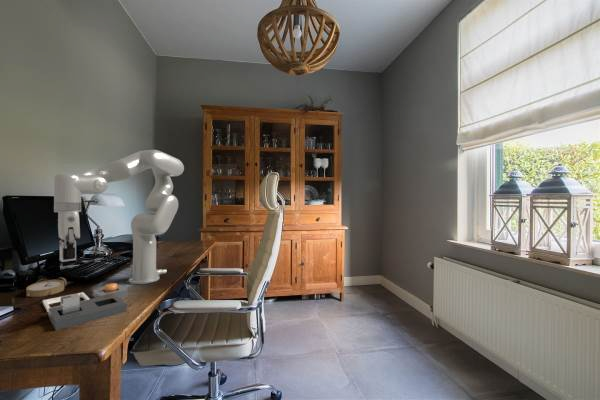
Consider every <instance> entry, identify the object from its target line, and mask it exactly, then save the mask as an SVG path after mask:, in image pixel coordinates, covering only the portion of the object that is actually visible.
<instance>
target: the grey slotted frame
mask: <svg viewBox="0 0 600 400" xmlns="http://www.w3.org/2000/svg"><path fill="white" fill-rule="evenodd" d="M127 309H128V304H127V303H126V302H125V301H124V300H122V298H118V297H117V296H116V295H115V294H112V295H107V296H103V297H98V298H94V297H93V298H89V300H85V301H84V300H80V311H78V312H74V313H70V314H66V315H62V316H61V305H57V306H53V308H52V307H50V308H49V312H48V319H49V320H50V322H51V324H52V326H53V328H54V330H55V331H59V330H64V329H67V328H71V327H74V326H78V325H82V324H85V323H86V324H87V323H89V322H93V321H96V320H101V319H105V318H108V317H111V316H115V315H118V314H122V313H126V312H127V311H128V310H127Z"/></svg>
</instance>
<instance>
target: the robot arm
mask: <svg viewBox="0 0 600 400" xmlns="http://www.w3.org/2000/svg"><path fill="white" fill-rule="evenodd" d="M149 169H151V170H152V174H153V176H154V182H155V183H154V186H153V188H152V190H151V191H150V193H149V195H148V197H147V198H146V201H145V203H144V208H145V210H146V211H148V213H147V212H143V213H138V214H136V215H135V216H133V218H132V219H131V222H130V229H131V234H132V277H130V278H129V279H128V283H129V284H131V285H146V284H150V283H155V282H158V281H159V280H160V278H161V277H160V276H161V275H162V274H167V272H168V271H167V268H165V269H162V268H161V269H158V268H157V239H156V236H157V235H164V234H165V233H166V232H167V231H168V229H169V228H170V227H171V224H172V222H173V220H174V218H175V215H177V212H178V209H179V200H178V198H177V197H176V196H175V195H174V194H172V193H173V190H174V184H173V180H172V179H171V177H178V176H181V175H182V174H183V172H184V171H185V166H184V164H183V162H182V161H181V160H180V159H179V158H176V157H174V156H172V155H170V154H168V153H165V152H163V151H161V150H158V149H149V150H148V149H145V150H140V151H139V150H138V151H136V152H134V153H131V154H130V155H127V156H124V157H123V158H120V159H118V160H114V161H112V162H108V163H106V164H102V165H101V166H97V167H94V168H91V169H89V170H86V171H84V172H81V173H79V174H76V173H56V174H55V175H54V178H53V212H54V213H57V217H58V218H57V222H58V223H57V230H58V232H57V233H58V238H59V239H60V241H64V249H63V259H64V260H68V259H74V258H75V241H76V240H75V239H77V240H79V239H80V238H81V228H80V227H81V226H80V225H81V224H80V215H79V214H80V212H82V195H100V194H103V193H104V192H105V191H107V189H108V188H109V184H110V183H114V182H120V181H124V180H128V179H130V178H132V177H134V176H136V175H138V174H140V173H142V172H144V171H146V170H149ZM67 241H68V242H67Z"/></svg>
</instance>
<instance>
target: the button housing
mask: <svg viewBox="0 0 600 400" xmlns="http://www.w3.org/2000/svg"><path fill="white" fill-rule="evenodd" d="M104 290H105V287H102V288H97V289H94V290H93V299H94V298H98V297H103V296H107V295H112V294H115V295H116V296H117V297H118V298H120V299H122V298H126V297H128V296H129V290H128V288H126V287H124V286H123V285H122V284H117V291H112V292H107V293H105V292H104Z"/></svg>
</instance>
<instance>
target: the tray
mask: <svg viewBox="0 0 600 400" xmlns="http://www.w3.org/2000/svg"><path fill="white" fill-rule="evenodd" d="M77 294H78V295H79V296H80V299H81V298H82V299H84V300H83V301H85V300H89V299H90V297H89V296H88V295H87V294H86V293H85V292H84V291H82V292H78V293H77ZM56 303H61V296H58V297H53V298H48V299H42V305H43V307H44V309H45V310H46V312H47V313H49V308H53V307H54V306H53V307H51V306H50V305H53V304H56Z"/></svg>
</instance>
